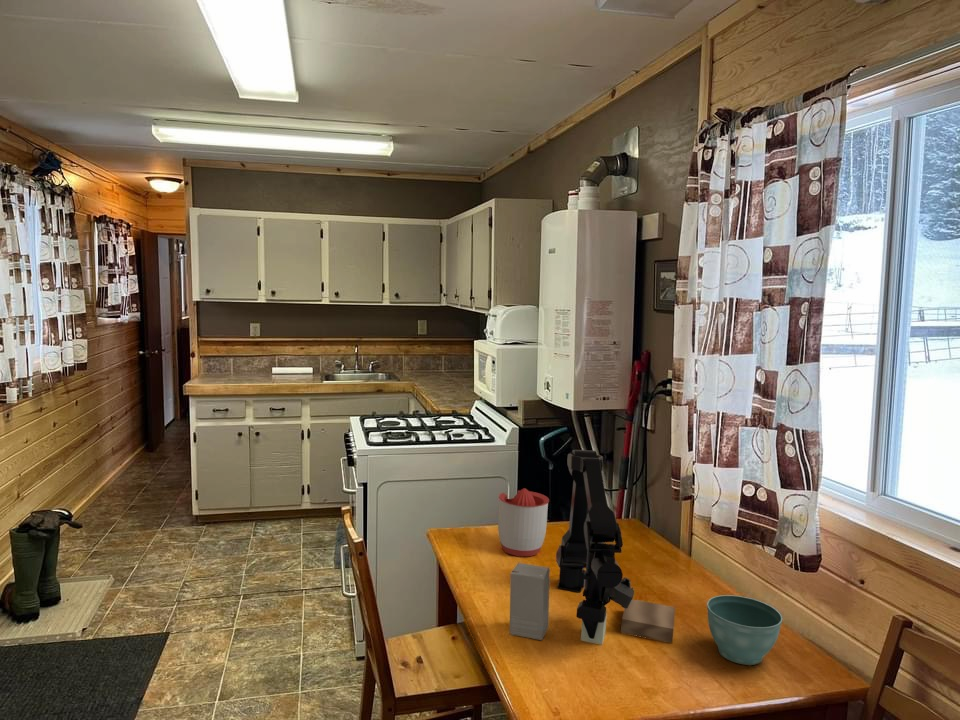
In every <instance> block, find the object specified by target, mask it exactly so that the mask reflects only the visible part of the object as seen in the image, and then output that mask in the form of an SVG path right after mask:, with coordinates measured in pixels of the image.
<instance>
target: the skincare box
mask: <svg viewBox="0 0 960 720" xmlns="http://www.w3.org/2000/svg"><path fill="white" fill-rule="evenodd" d="M509 588H510V589H509V592H510V593H509V595H510V597H509V599H510V601H509V602H510V603H509V635H511V636H517V637H522V638H528V639H533V640H538V641H543V639H544V637H545V635H546V633H547V630H548V629H549V616H550V615H549V614H550V613H549V612H550V611H549V609H550V567H549V566H541V565H535V564H528V563H522V562H517V563H516V565H515V566H514V568H512V571H511V572H510V587H509Z"/></svg>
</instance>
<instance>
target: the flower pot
mask: <svg viewBox="0 0 960 720" xmlns="http://www.w3.org/2000/svg"><path fill="white" fill-rule="evenodd" d="M706 608H707V621H708V627H709V631H710V633H711V636H712V638H713V640H714V642H715V644H716V646H717V648H718V649H717V650H718V653H719V654H720V656H722V657H723V658H724V659H726V660H727V661H730V662H733V663H736V664H740V665H745V666H752V665H758V664H760V663H762V661H763V658H764V657H765V656H766V655H767V654H768V653H769V652H770V651H771V650H772V648H774V646H775V644H776V642H777V640H778V637H779V634H780V630H781V626H782V623H783V616H782V614H781V613H780V612H779V611H778V610H777V608H775V607H773V606H772V605H770V604H769V603H766V602H763V601H760V600H758V599H756V598H750V597H745V596H740V595H735V594H733V595H729V594H728V595H727V594H726V595H725V594H723V595H716V596H713V597H711V598H709V600H708V601H707V603H706Z"/></svg>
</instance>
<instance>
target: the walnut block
mask: <svg viewBox="0 0 960 720" xmlns="http://www.w3.org/2000/svg"><path fill="white" fill-rule="evenodd" d="M675 613H676V606H671V605H664V604H660V603H659V604H658V603H654V602H648V601H644V600H639V599H633V598H632V600H631V602H630V604H629V606H628V608H624V609H623V614H622V617H621V627H620V628H621V629H620V634H623V633H625V634H624V635H628V634H631V635H630V636H633V635H637V636H636V637H638V636H641V637H640V638H643V637H646V638H645V639H648V638H651V639H650V640H652V639H655V640H654V641H657V640H659V641H658V642H662V641H663V643H667V642H668V644H673V639H674V631H675V619H676V618H675V615H676V614H675Z"/></svg>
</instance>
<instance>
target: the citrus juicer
mask: <svg viewBox="0 0 960 720" xmlns="http://www.w3.org/2000/svg"><path fill="white" fill-rule="evenodd" d="M498 499H499V504H498V505H499V506H498V518H497V519H498V520H497V521H498V522H497V529H498V537H499V543H500V546H501V550H503V552H505V553H506V554H508V555H512V556H515V557H518V558H519V557H532V556H535V555H538V554H539V553H540V551H541V550H542V547H543V543H544V541H545V537H546V534H547V533H546V531H547V525H548V523H547V522H548V509H549V508H548V507H549V502H550V499H549V497H548V496H546V495H544V494H542V493H539V492H534V491H530V490H529V489H527V488H525V487H524V488H522V489H520V490H517V493H516V494H515V495H514V497H513V498H508V495H507V493H504V492H502V493H500V494H499V496H498Z"/></svg>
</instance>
